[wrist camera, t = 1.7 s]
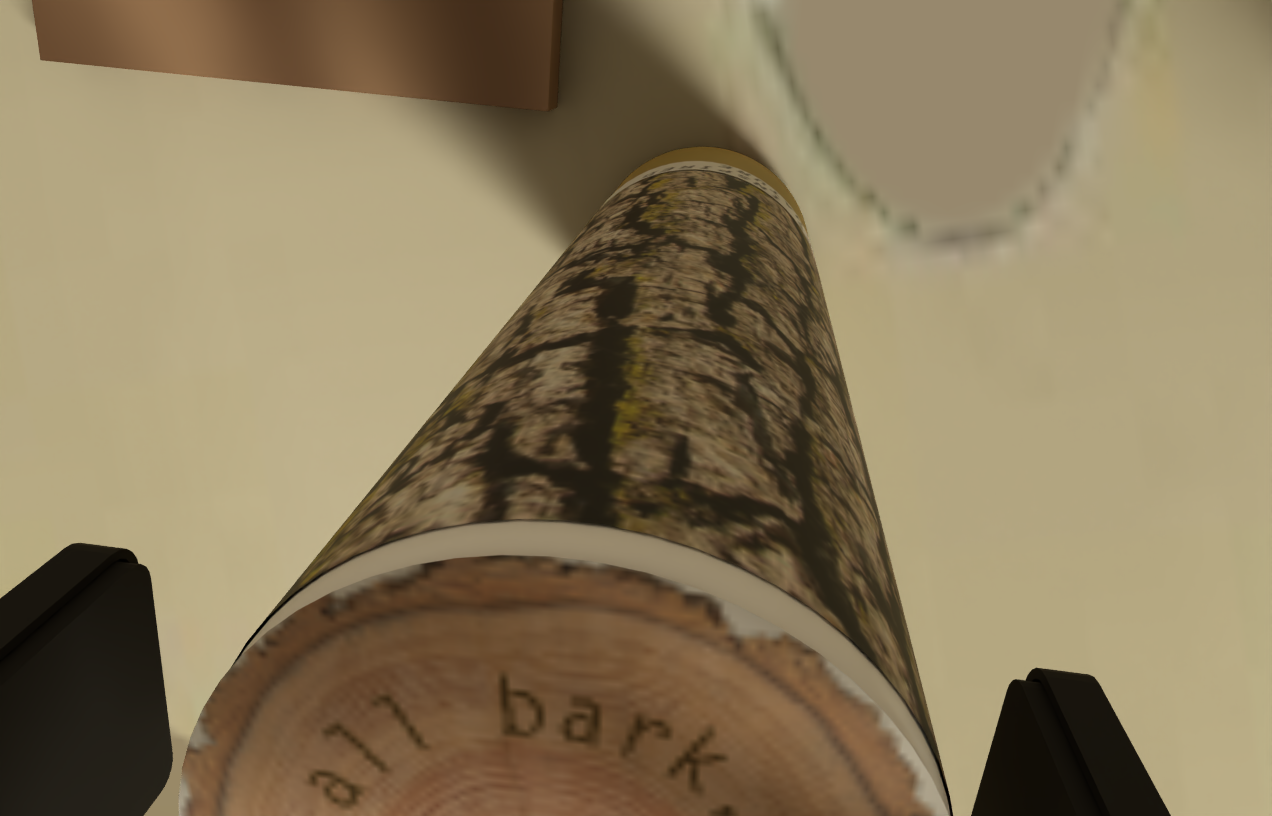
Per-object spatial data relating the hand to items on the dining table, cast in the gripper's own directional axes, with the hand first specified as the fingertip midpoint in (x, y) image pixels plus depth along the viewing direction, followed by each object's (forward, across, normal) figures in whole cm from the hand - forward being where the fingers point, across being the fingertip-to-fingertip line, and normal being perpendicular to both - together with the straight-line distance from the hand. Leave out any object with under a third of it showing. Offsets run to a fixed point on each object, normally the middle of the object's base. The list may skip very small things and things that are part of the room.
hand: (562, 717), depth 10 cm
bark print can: (+23, -1, 0) cm, 23 cm away
